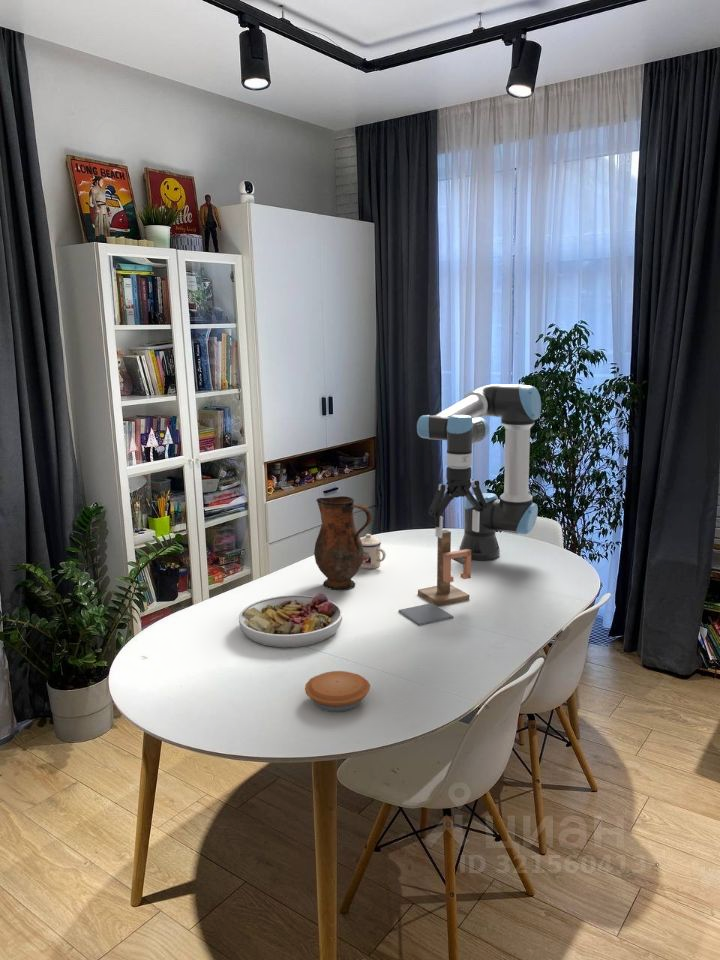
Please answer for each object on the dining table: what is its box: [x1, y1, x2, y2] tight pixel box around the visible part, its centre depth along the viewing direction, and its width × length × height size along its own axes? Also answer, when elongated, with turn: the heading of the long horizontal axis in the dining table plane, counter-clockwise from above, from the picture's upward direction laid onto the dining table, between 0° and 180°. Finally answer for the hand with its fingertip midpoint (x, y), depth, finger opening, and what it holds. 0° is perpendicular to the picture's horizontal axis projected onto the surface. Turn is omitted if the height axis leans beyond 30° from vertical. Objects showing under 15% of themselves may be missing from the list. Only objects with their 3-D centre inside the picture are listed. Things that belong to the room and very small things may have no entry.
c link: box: [443, 549, 472, 583], centre depth 236 cm, size 9×2×9 cm, turn 117°
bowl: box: [238, 593, 343, 648], centre depth 221 cm, size 30×30×8 cm
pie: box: [304, 670, 371, 713], centre depth 181 cm, size 15×16×5 cm
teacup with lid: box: [359, 533, 387, 569], centre depth 275 cm, size 12×9×12 cm
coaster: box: [398, 602, 454, 626], centre depth 231 cm, size 12×12×1 cm
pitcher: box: [313, 495, 372, 591], centre depth 253 cm, size 17×21×30 cm
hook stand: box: [417, 529, 470, 607], centre depth 241 cm, size 16×12×22 cm
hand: (457, 534), depth 234 cm, fingers open, 13 cm apart
